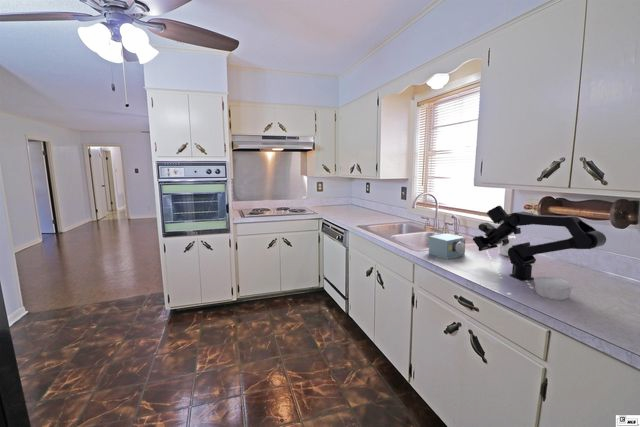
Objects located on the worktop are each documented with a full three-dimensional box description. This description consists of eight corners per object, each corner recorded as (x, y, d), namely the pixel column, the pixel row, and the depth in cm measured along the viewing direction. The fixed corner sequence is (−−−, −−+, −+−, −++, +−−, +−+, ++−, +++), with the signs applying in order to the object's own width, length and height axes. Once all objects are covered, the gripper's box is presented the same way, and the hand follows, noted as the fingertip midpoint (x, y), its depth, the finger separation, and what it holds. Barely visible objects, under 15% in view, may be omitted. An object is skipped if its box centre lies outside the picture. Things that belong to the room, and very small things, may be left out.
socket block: (465, 255, 159) (466, 237, 157) (446, 259, 153) (447, 240, 151) (446, 250, 170) (447, 233, 168) (428, 253, 164) (429, 236, 162)
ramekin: (550, 287, 115) (552, 275, 114) (579, 300, 104) (581, 286, 103) (525, 290, 113) (526, 277, 113) (551, 303, 102) (553, 288, 102)
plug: (464, 252, 154) (465, 241, 153) (456, 254, 151) (457, 242, 150) (443, 246, 166) (443, 236, 166) (435, 247, 164) (435, 237, 163)
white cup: (513, 253, 160) (514, 235, 159) (515, 257, 153) (516, 238, 152) (496, 251, 164) (497, 234, 162) (497, 255, 157) (498, 237, 156)
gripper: (504, 216, 140) (482, 234, 151) (477, 219, 132) (456, 238, 144) (520, 235, 134) (495, 253, 145) (492, 239, 126) (469, 258, 138)
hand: (479, 250), depth 143 cm, fingers closed
